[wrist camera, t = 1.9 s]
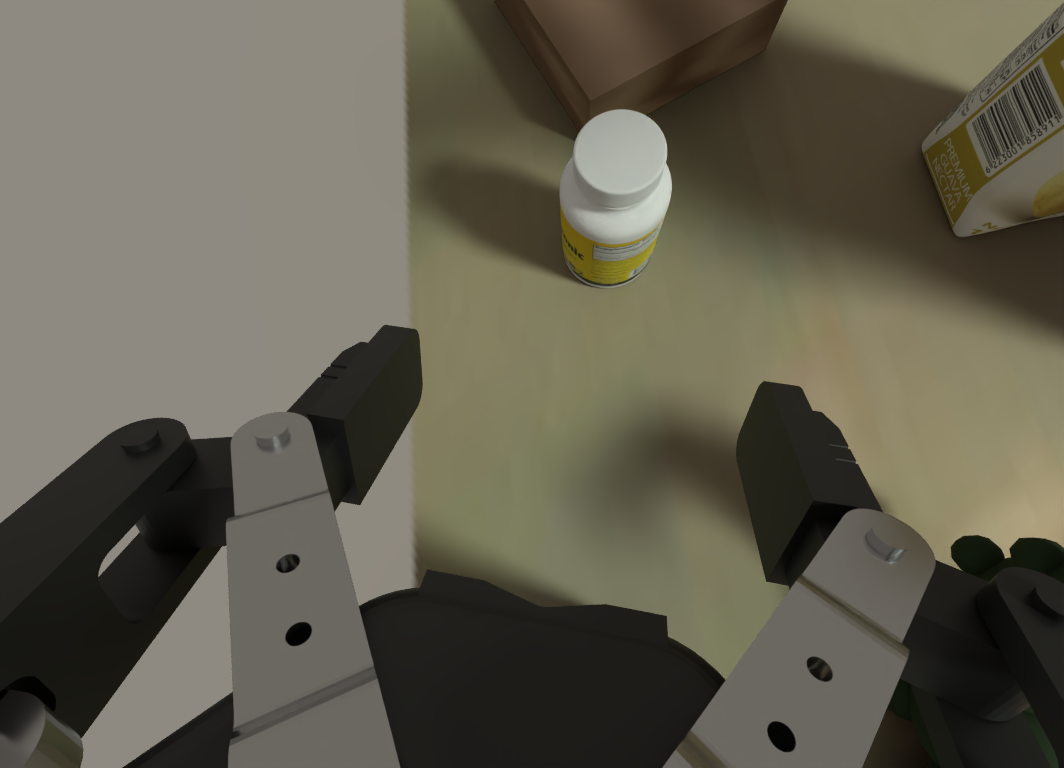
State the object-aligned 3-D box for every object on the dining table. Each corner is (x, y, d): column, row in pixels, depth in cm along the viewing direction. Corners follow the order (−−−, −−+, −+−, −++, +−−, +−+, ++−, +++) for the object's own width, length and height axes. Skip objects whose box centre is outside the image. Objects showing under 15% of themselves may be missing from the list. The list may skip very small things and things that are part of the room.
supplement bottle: (558, 213, 31) (552, 99, 22) (645, 204, 31) (678, 84, 21) (565, 295, 30) (562, 214, 21) (655, 287, 30) (694, 200, 20)
